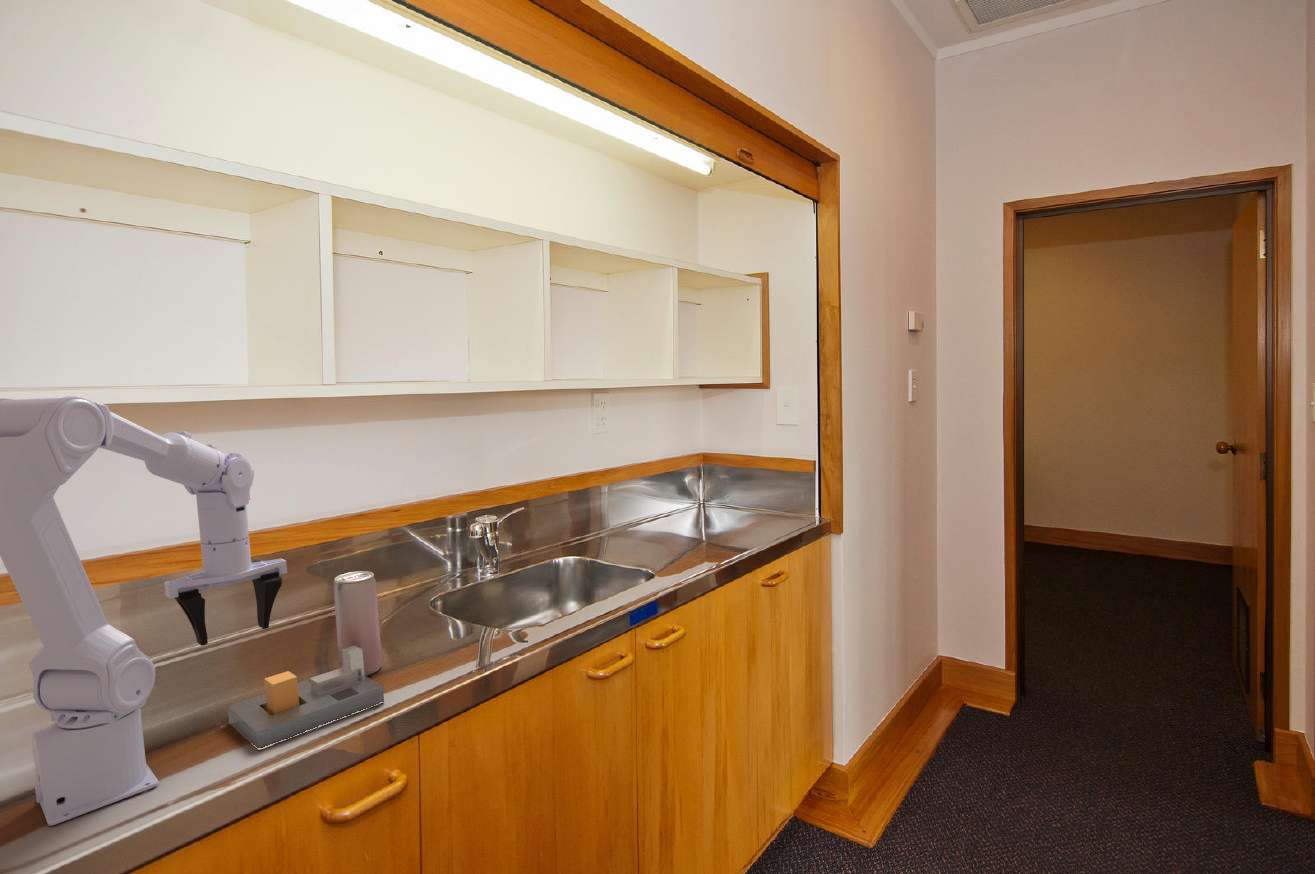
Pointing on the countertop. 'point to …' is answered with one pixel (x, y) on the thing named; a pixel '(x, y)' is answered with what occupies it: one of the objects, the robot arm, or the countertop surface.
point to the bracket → (341, 673)
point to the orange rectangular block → (281, 692)
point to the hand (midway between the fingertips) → (234, 635)
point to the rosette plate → (301, 711)
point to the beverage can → (358, 617)
